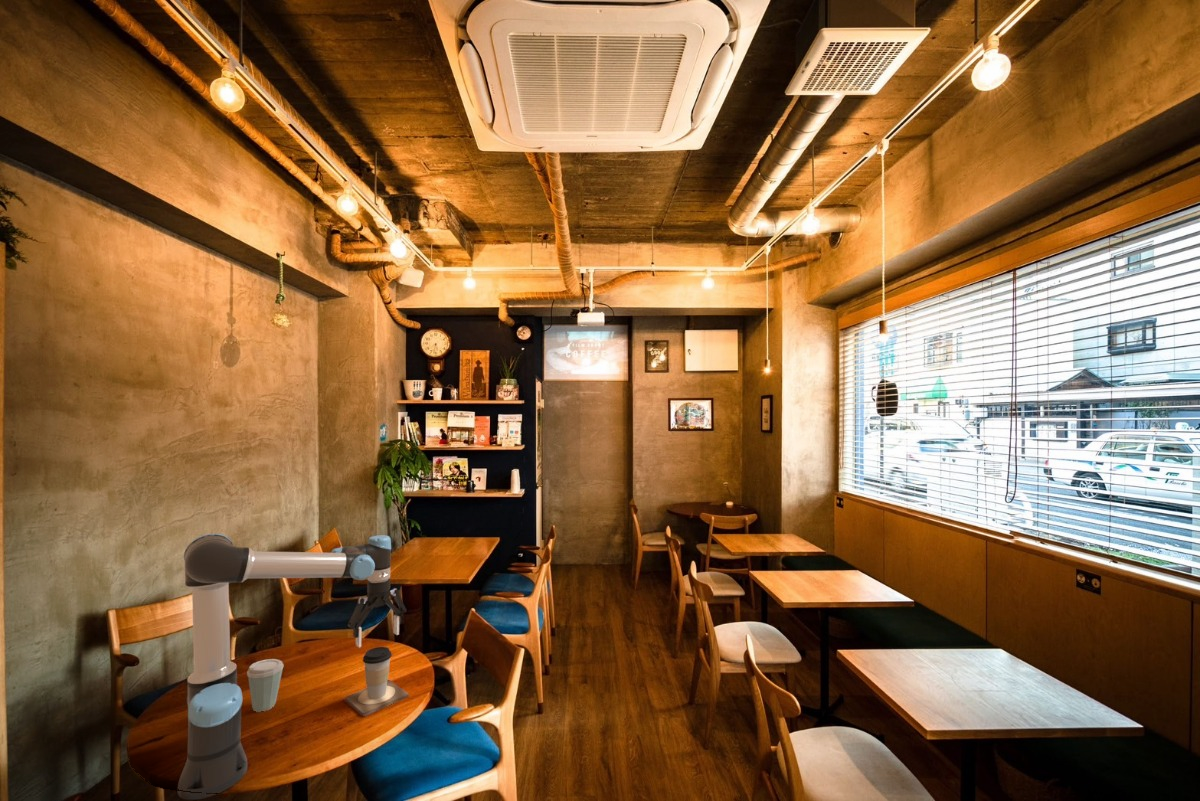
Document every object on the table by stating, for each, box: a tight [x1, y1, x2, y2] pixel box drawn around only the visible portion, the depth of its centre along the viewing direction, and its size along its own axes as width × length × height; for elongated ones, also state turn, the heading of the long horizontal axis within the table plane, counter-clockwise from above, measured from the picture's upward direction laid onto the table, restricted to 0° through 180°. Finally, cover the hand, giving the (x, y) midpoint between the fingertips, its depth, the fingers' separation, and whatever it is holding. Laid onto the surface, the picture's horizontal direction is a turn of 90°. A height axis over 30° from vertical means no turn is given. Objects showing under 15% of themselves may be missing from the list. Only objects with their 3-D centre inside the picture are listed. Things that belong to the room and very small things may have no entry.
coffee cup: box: [362, 646, 393, 699], centre depth 177 cm, size 9×9×15 cm
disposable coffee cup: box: [246, 658, 284, 713], centre depth 172 cm, size 11×11×15 cm
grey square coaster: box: [344, 679, 410, 718], centre depth 177 cm, size 16×15×2 cm
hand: (377, 639), depth 178 cm, fingers open, 13 cm apart
